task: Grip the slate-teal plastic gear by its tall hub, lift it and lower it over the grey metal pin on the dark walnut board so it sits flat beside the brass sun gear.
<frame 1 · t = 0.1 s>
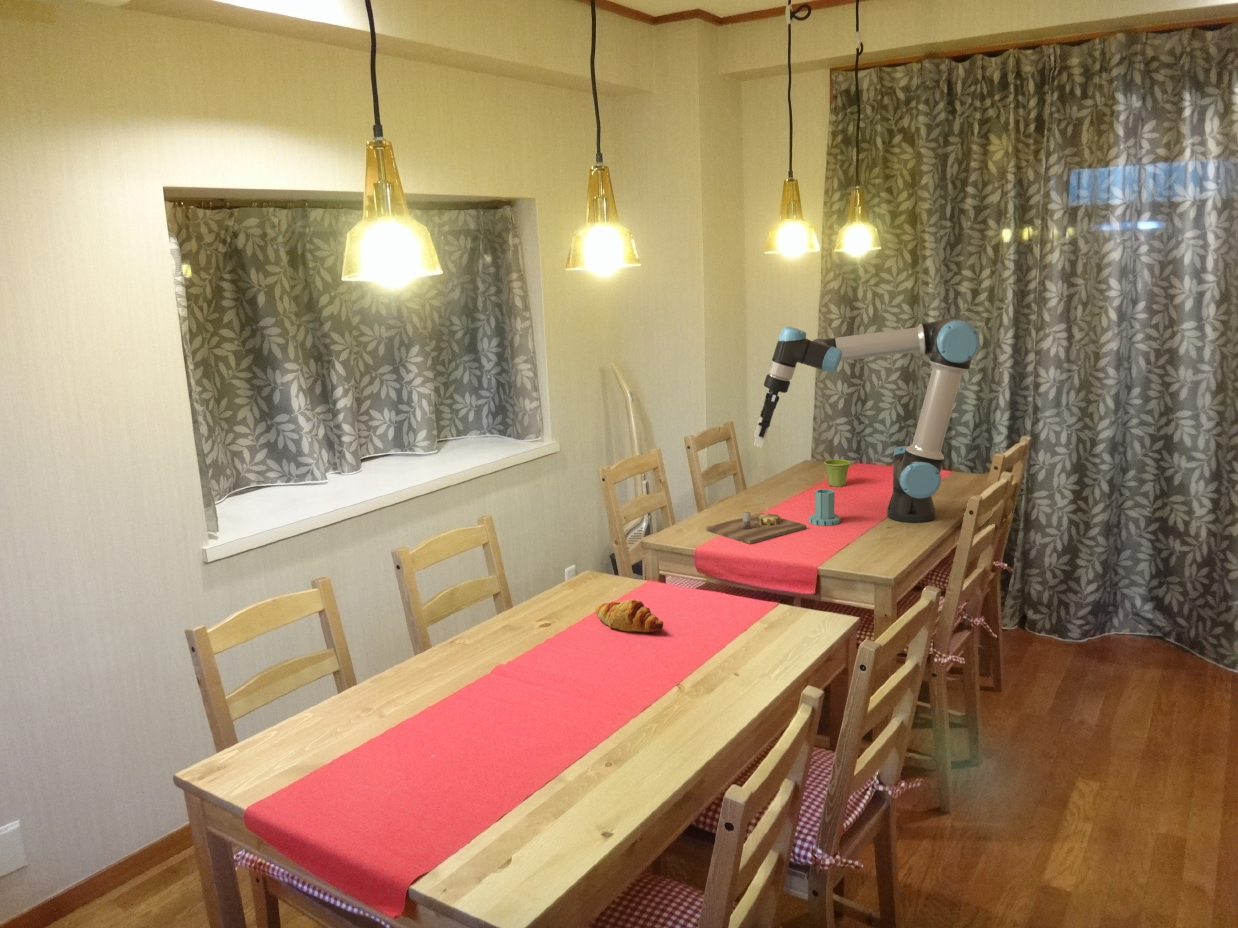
hand: (757, 442, 306), 28 cm above the table, tool tilted 20°, fingers open, 13 cm apart
carrier board: (756, 529, 310), on the table
plant pot: (837, 485, 362), on the table
croissant: (629, 625, 237), on the table
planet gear: (824, 521, 316), on the table
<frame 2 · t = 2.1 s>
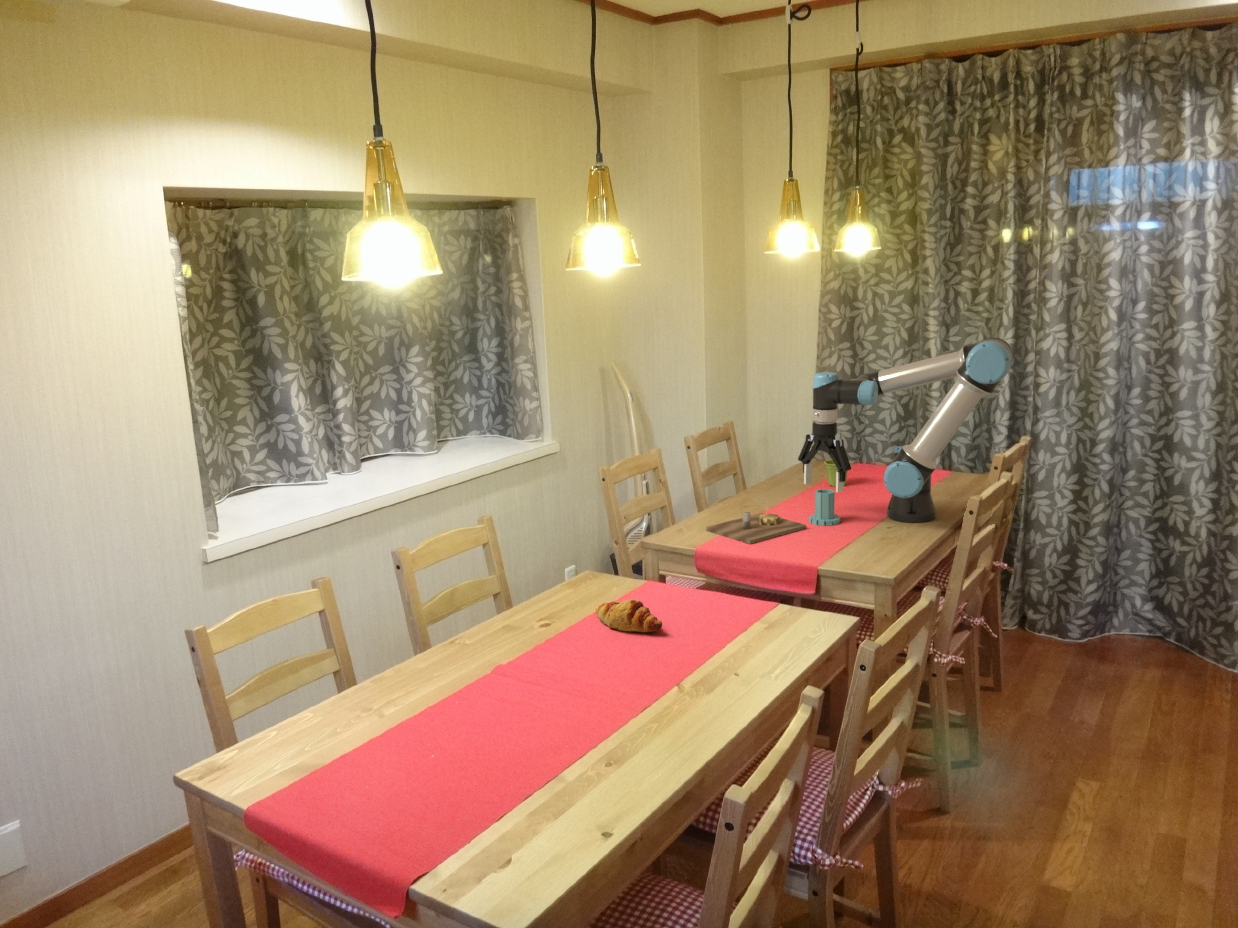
hand: (823, 487, 314), 11 cm above the table, tool pointing down, fingers open, 13 cm apart
nothing on the table moved.
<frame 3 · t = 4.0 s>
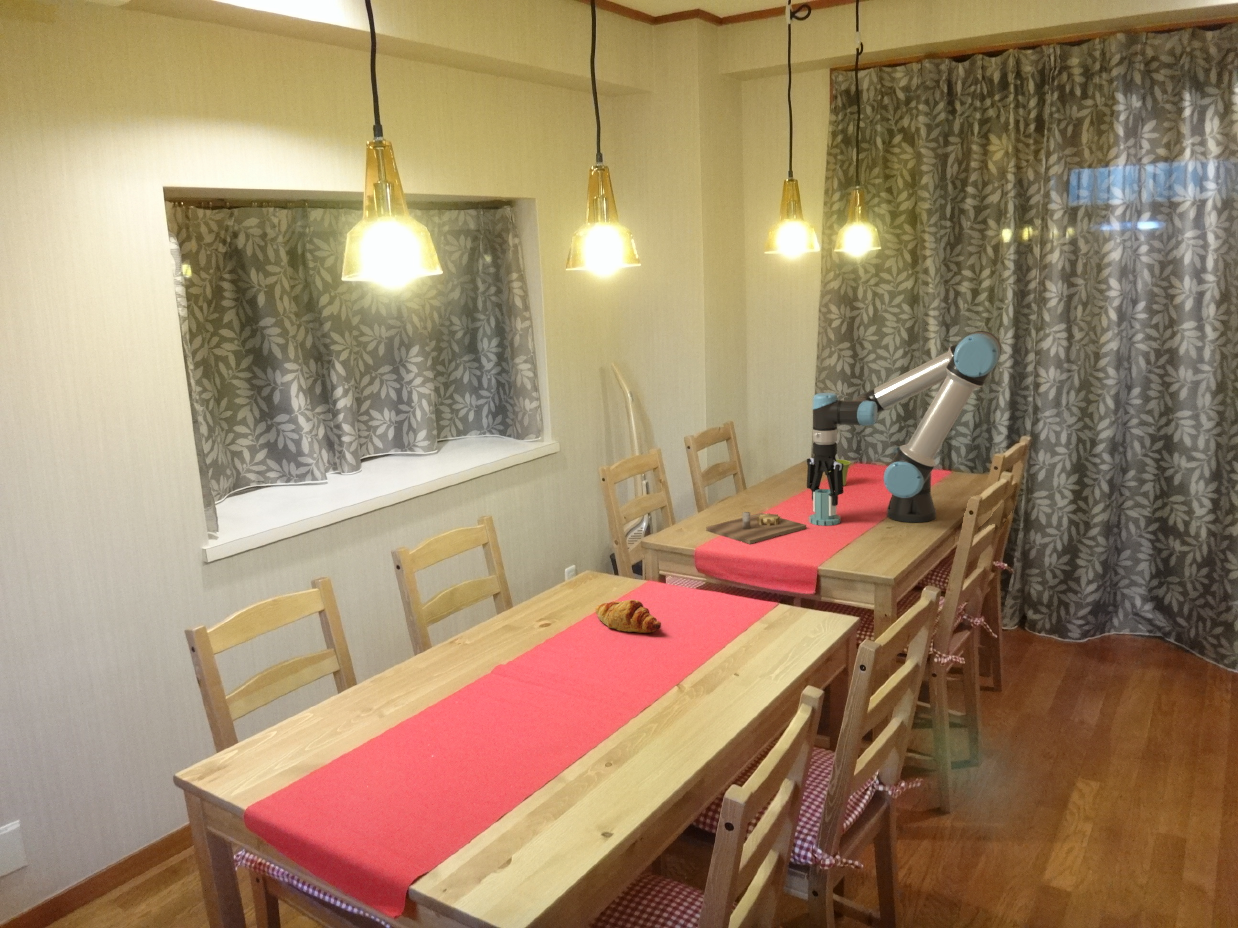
hand: (824, 512, 315), 3 cm above the table, tool pointing down, fingers closed on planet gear, 6 cm apart
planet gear: (824, 521, 316), on the table, touching gripper
everything else where it was.
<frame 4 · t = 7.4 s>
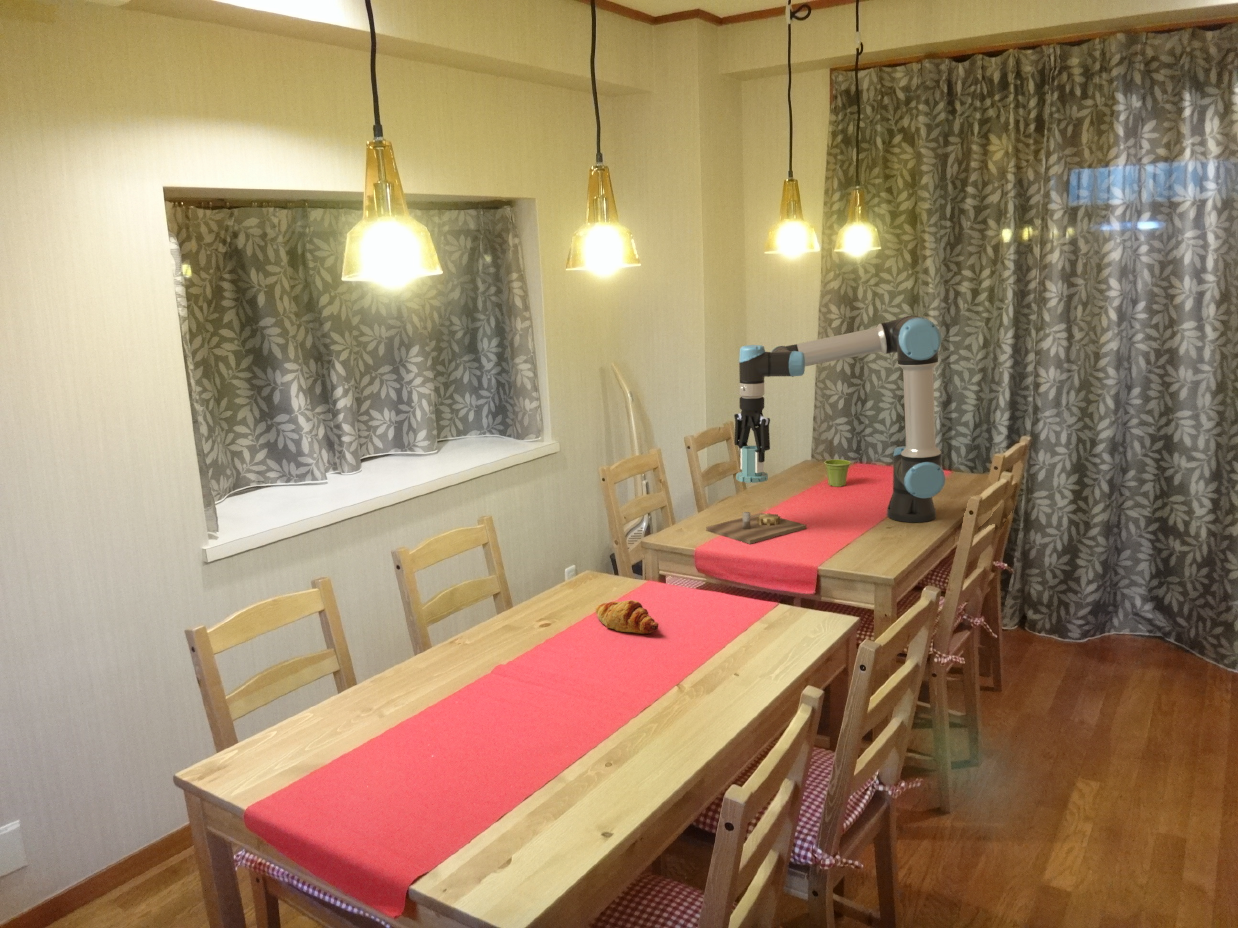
hand: (751, 470, 305), 20 cm above the table, tool pointing down, fingers closed on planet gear, 6 cm apart
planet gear: (752, 479, 305), point 17 cm above the table, touching gripper
everything else where it was.
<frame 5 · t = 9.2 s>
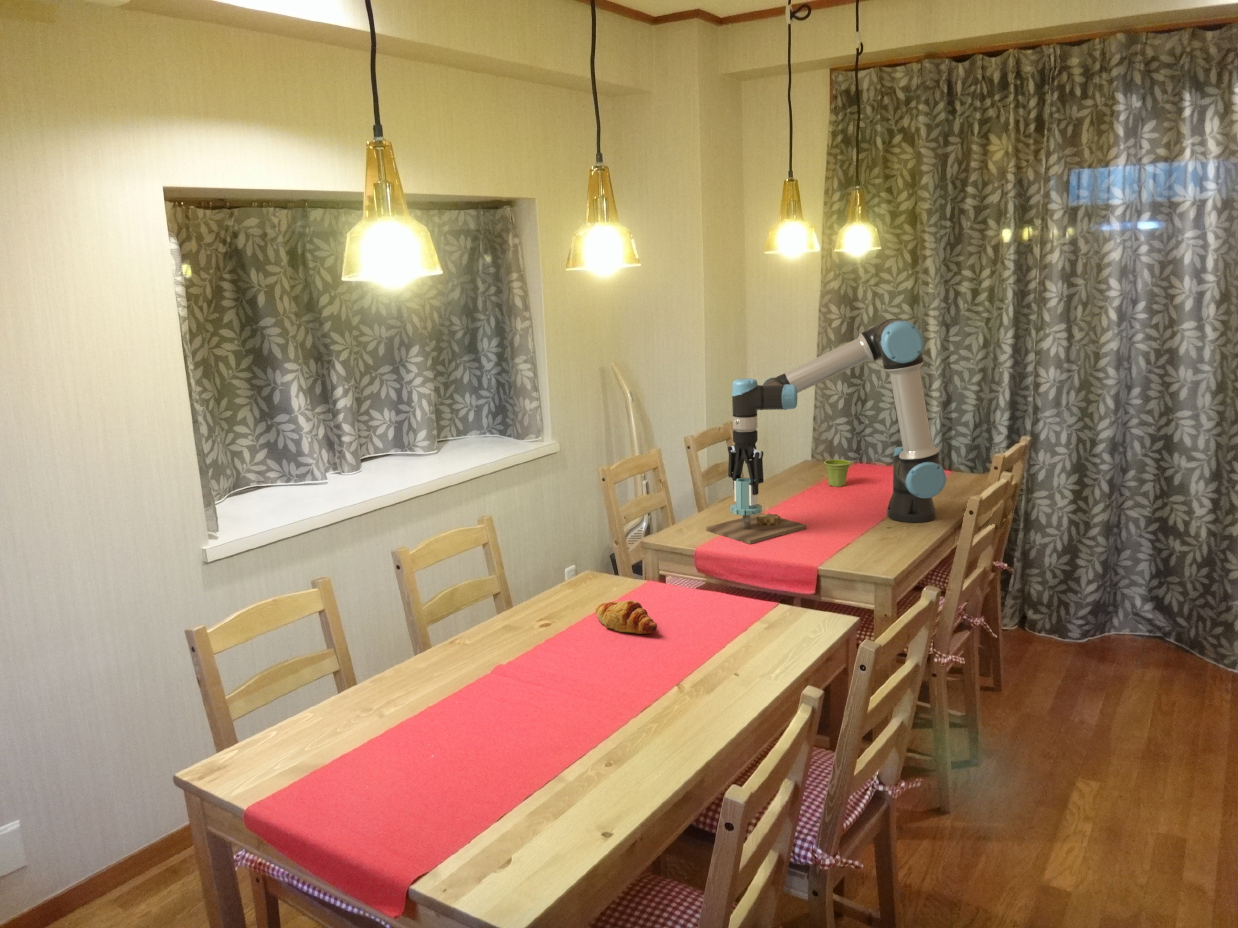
hand: (745, 502, 306), 10 cm above the table, tool pointing down, fingers closed on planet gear, 6 cm apart
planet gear: (746, 511, 307), point 7 cm above the table, touching gripper
everything else where it was.
when the fingers open (5 cm above the table, at t = 10.8 s): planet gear stays where it is, resting on carrier board.
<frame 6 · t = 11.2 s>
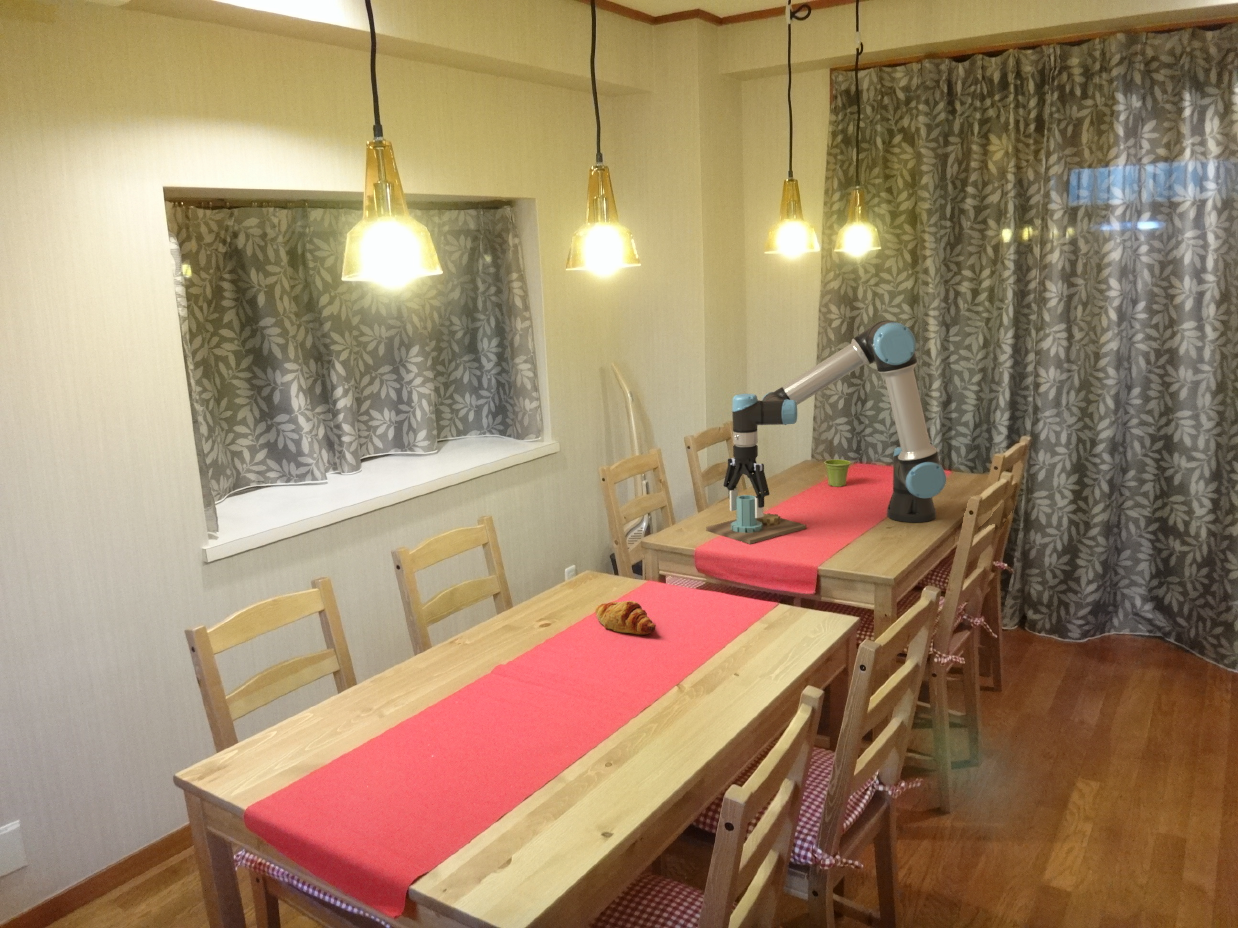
hand: (746, 513, 307), 6 cm above the table, tool pointing down, fingers open, 11 cm apart
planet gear: (746, 528, 308), point 1 cm above the table, touching carrier board
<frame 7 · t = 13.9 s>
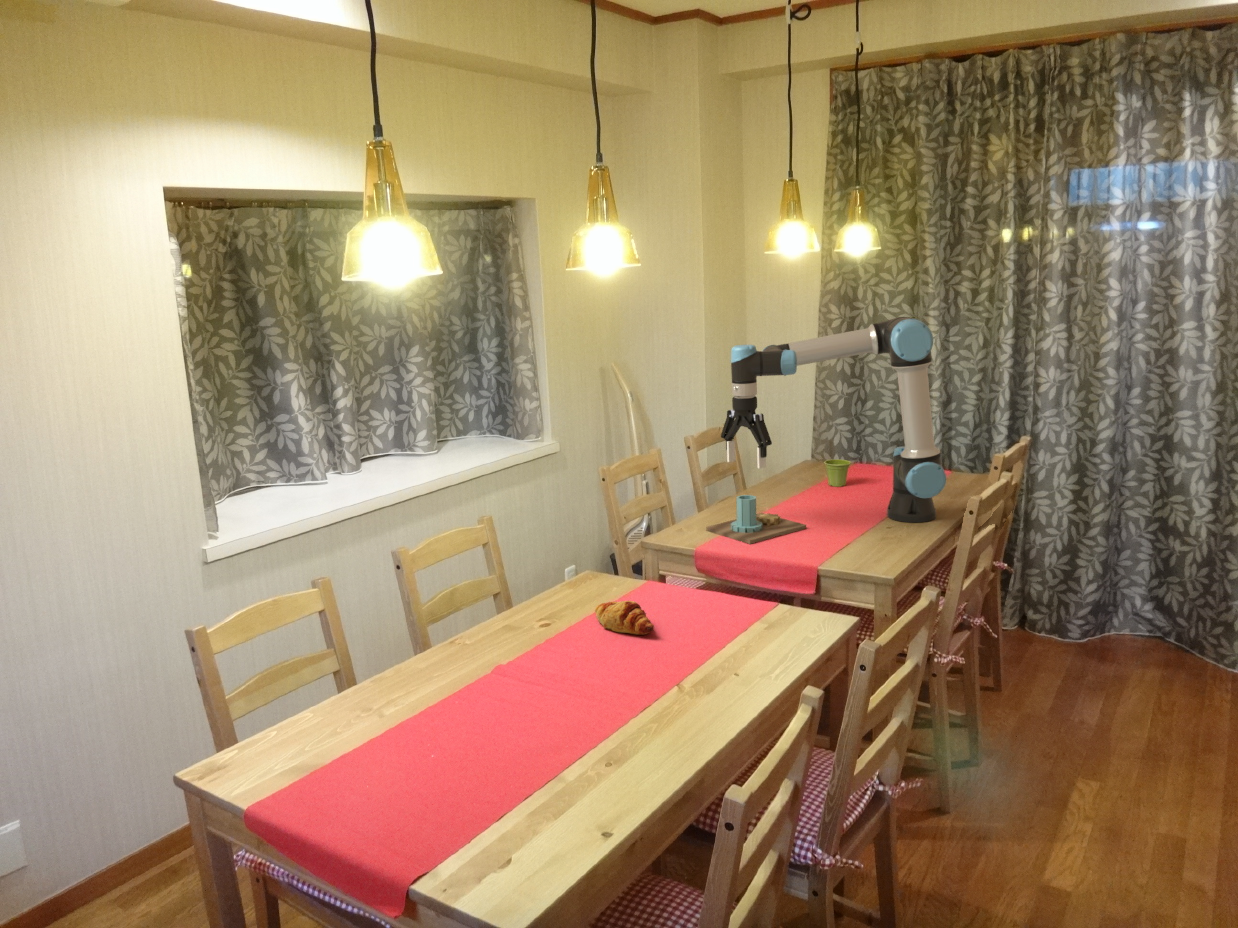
hand: (746, 464, 303), 22 cm above the table, tool pointing down, fingers open, 13 cm apart
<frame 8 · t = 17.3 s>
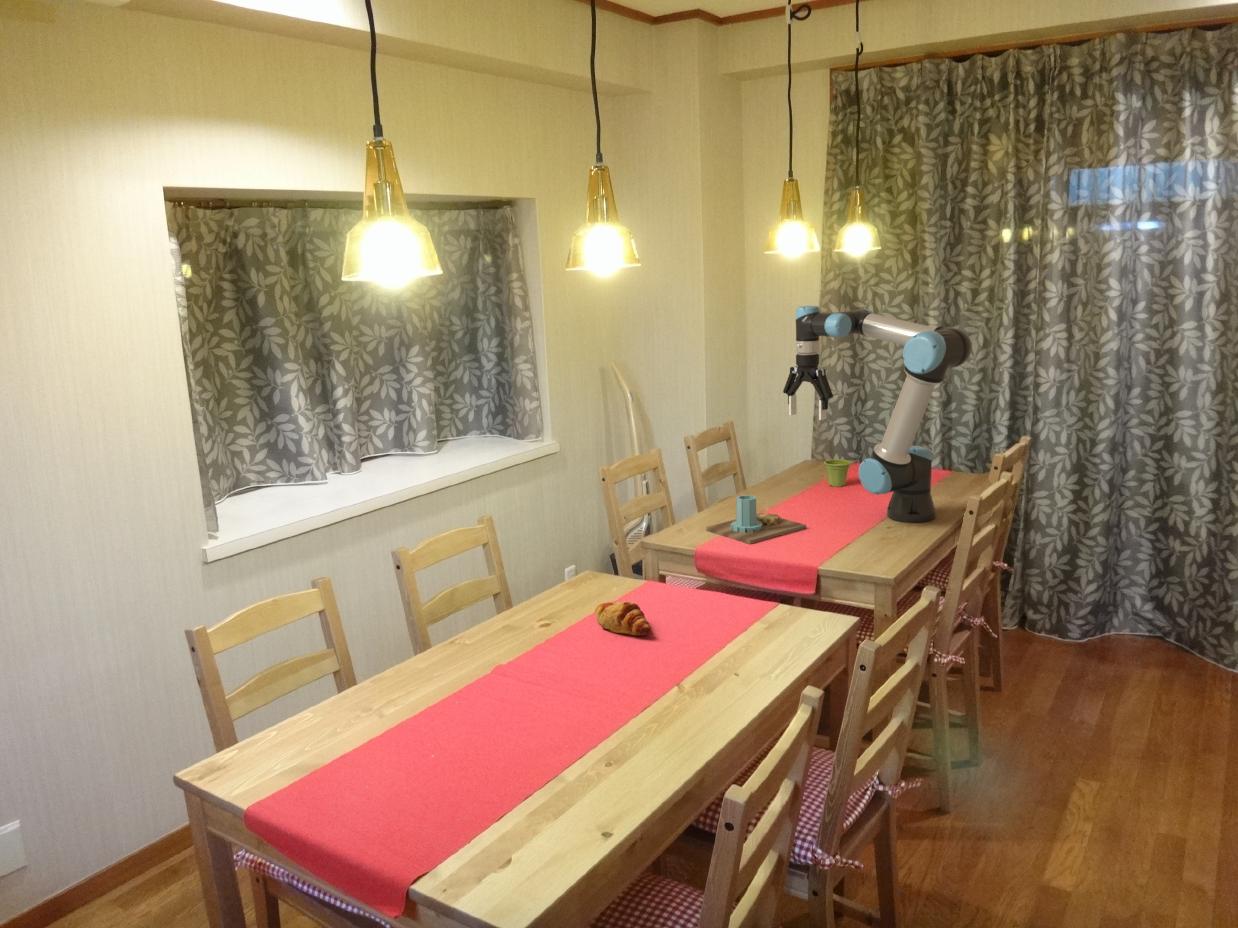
hand: (807, 417, 328), 31 cm above the table, tool pointing down, fingers open, 13 cm apart
at the end: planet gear 0.0 cm from the target spot on the carrier board, point 1.2 cm above the carrier board's base; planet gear tilted 0°; the gripper is holding nothing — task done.
